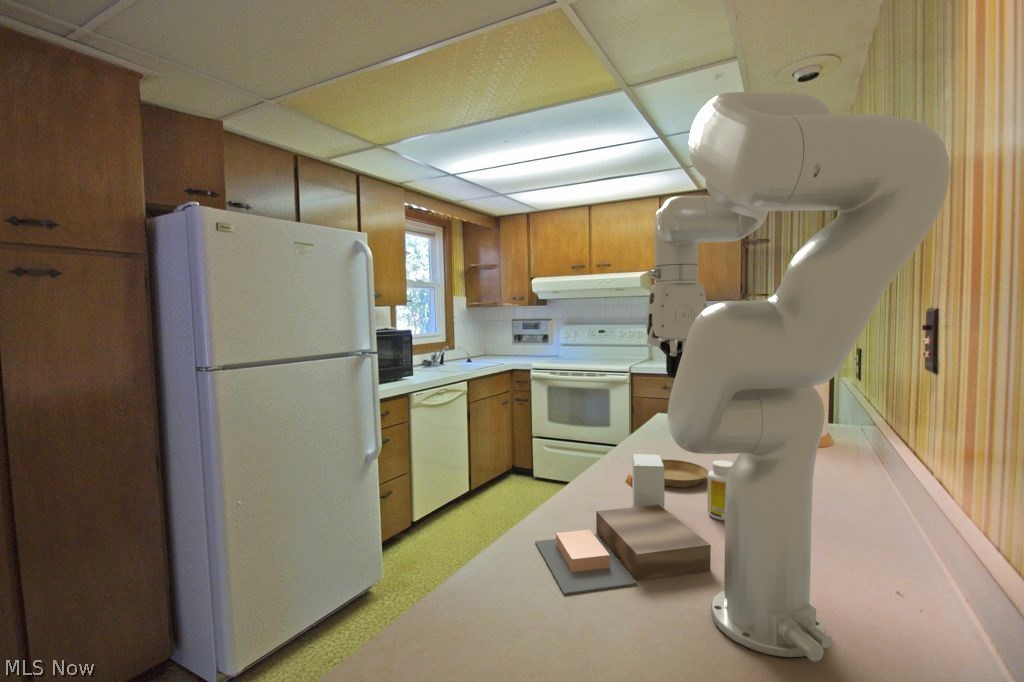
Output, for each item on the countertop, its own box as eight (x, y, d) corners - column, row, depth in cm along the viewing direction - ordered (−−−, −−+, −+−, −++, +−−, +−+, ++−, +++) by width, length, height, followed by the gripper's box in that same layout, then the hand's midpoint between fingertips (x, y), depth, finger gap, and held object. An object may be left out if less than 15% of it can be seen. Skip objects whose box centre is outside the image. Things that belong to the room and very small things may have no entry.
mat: (636, 584, 72) (637, 582, 72) (564, 595, 70) (564, 592, 70) (595, 535, 87) (595, 534, 87) (535, 542, 85) (535, 541, 85)
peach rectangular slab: (572, 559, 75) (572, 572, 75) (609, 554, 76) (609, 567, 76) (555, 533, 84) (556, 544, 84) (589, 529, 85) (589, 540, 85)
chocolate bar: (647, 503, 102) (647, 493, 102) (623, 483, 114) (623, 474, 114) (659, 502, 103) (659, 491, 103) (634, 482, 115) (634, 473, 115)
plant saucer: (693, 468, 123) (693, 458, 123) (720, 490, 109) (720, 478, 108) (634, 470, 123) (634, 459, 123) (653, 492, 108) (653, 480, 108)
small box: (664, 522, 93) (664, 466, 92) (633, 520, 94) (633, 465, 93) (660, 505, 100) (660, 454, 100) (632, 503, 102) (632, 453, 101)
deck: (710, 570, 75) (710, 544, 75) (637, 580, 73) (637, 554, 73) (658, 525, 91) (658, 504, 91) (596, 533, 88) (596, 511, 88)
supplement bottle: (744, 521, 92) (745, 467, 91) (715, 522, 92) (715, 468, 91) (730, 509, 98) (731, 458, 97) (702, 510, 98) (702, 459, 97)
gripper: (647, 275, 85) (647, 382, 86) (726, 274, 88) (724, 378, 89) (628, 278, 92) (628, 376, 93) (701, 277, 95) (700, 373, 96)
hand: (675, 377), depth 91 cm, fingers closed
